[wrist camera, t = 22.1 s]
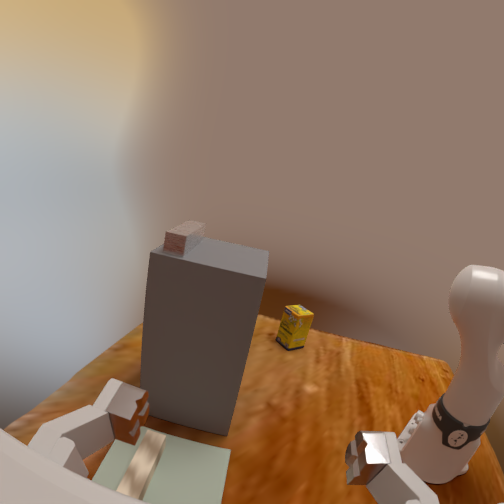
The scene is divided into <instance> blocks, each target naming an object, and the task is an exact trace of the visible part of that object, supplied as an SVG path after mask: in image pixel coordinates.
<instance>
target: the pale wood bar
mask: <svg viewBox="0 0 504 504" xmlns="http://www.w3.org/2000/svg"><path fill="white" fill-rule="evenodd" d="M205 225H206V224H205V223H200V222H196V221H191V220H188V221H186V222H184V223H182V224H180V225H178V226H176V227H174V228H172V229H170V230H168V231H166V234H165V241H164V248H163V253H166V254H170V255H175V256H179V257H184V256H186V255H187V254H188V253H189V252H190V251H191V250H192V249H194V248H195V247H196V246H197V245H198V244H199V243H201V242H202V241H203V236H204V230H205Z"/></svg>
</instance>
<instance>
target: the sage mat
mask: <svg viewBox="0 0 504 504" xmlns="http://www.w3.org/2000/svg"><path fill="white" fill-rule="evenodd" d="M147 430H151V431H154V432H157V433H160V434H163V435H166V445H165V449H164V451H163V453H162V456H161V458H160V460H159V463H158V465H157V467H156V470H155V472H154V474H153V477H152V479H151V481H150V484H149V486H148V489H147V491H146V493H145V496H144V498H143V500H142V501H145V502H148V503H151V504H221V500H222V495H223V489H224V484H225V478H226V473H227V468H228V462H229V457H230V451H231V450H229V449H224V448H220V447H215V446H211V445H206V444H202V443H198V442H194V441H191V440H187V439H183V438H180V437H176V436H172V435H169V434H166V433H162V432H159V431H156V430H153V429H150V428H147V427H144V426H142V427H140V432H141V434H140V436H139V438H138V440H137V442H136V445H135V446H134V445H131V444H128V443H125V442H122V441H119V440H117V439H115V441H114V443H113V444H112V446H111V448H110V450H109V451H108V453H107V455H106V456H105V458H104V460H103V462H102V463H101V465H100V467H99V469H98V470H97V472H96V474H95V476H94V477H93V479H92V481H94V482H96V483H98V484H100V485H103V486H105V487H107V488H110V489H112V490H115V491H116V490H117V488H118V486H119V484H120V482H121V480H122V478H123V476H124V474H125V472H126V470H127V469H128V467H129V465H130V463H131V461H132V459H133V457H134V455H135V453H136V451H137V449H138V447H139V445H140V443H141V441H142V439H143V437H144V436H145V434H146V432H147Z"/></svg>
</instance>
